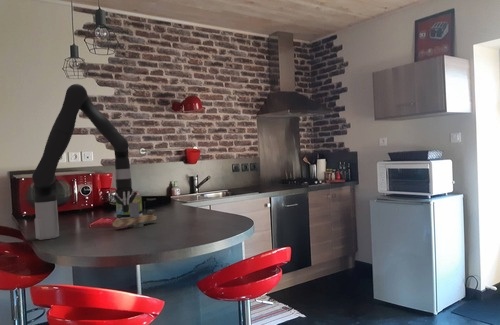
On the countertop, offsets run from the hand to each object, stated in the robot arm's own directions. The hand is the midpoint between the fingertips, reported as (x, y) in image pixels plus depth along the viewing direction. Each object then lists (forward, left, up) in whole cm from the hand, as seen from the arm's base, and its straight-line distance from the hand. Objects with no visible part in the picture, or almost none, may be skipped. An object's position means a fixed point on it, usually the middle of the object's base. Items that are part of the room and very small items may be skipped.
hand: (125, 212), depth 197 cm
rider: (+5, 0, -4) cm, 6 cm away
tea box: (+12, +18, -8) cm, 23 cm away
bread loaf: (+5, 0, -8) cm, 10 cm away
